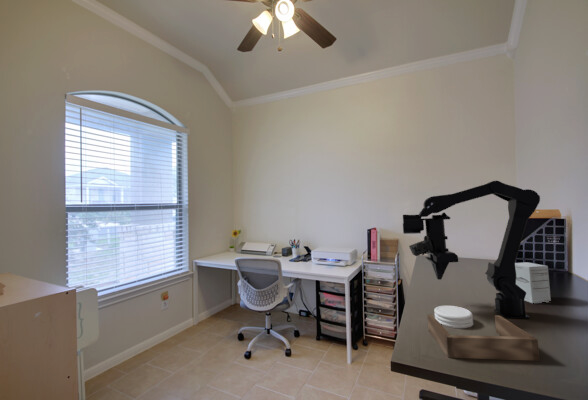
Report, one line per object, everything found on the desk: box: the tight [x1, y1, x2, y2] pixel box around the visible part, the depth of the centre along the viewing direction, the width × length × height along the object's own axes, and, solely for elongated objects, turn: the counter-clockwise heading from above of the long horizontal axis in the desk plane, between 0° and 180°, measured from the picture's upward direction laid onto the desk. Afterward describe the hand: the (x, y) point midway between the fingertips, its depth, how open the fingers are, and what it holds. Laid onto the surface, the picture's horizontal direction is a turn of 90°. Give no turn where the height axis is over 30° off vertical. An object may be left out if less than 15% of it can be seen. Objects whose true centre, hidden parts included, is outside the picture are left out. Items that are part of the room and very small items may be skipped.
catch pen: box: [426, 314, 541, 362], centre depth 67 cm, size 18×14×4 cm
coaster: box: [433, 305, 474, 329], centre depth 81 cm, size 10×10×4 cm
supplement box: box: [515, 261, 552, 304], centre depth 97 cm, size 7×7×13 cm
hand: (439, 279), depth 92 cm, fingers closed
